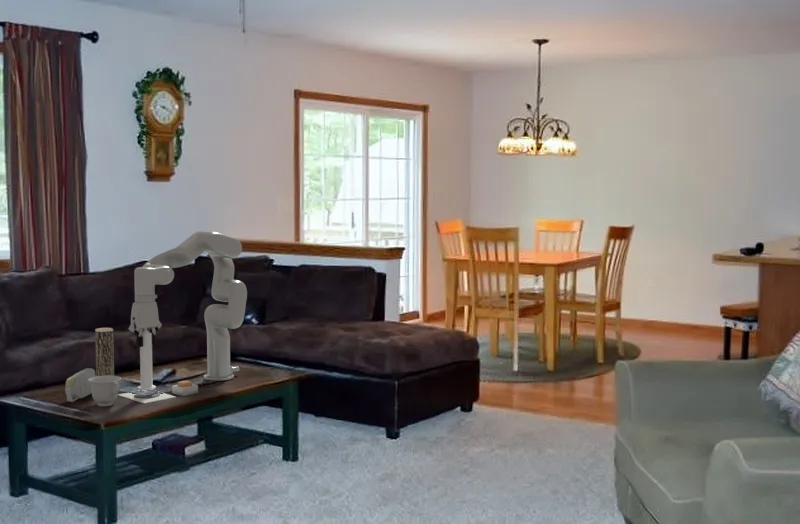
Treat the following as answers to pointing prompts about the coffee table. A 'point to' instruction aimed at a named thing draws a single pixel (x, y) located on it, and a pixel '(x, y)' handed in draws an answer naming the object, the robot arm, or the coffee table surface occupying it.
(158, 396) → the paper sheet
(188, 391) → the button housing
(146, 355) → the candle
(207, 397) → the coffee table surface
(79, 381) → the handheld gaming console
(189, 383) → the button
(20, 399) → the coffee table surface
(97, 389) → the teacup
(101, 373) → the wooden log
